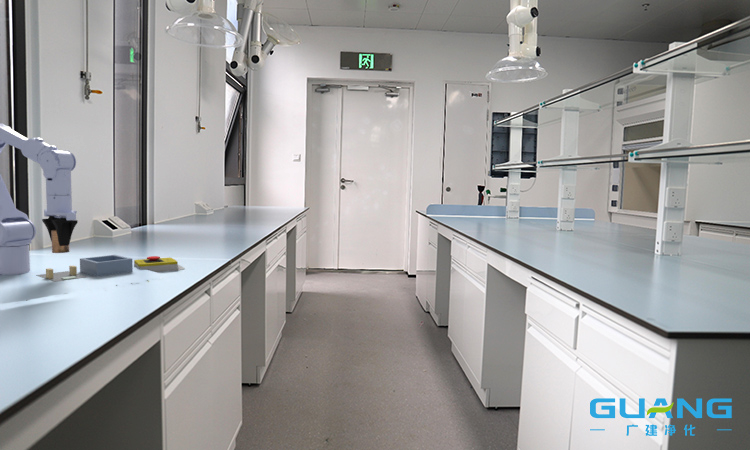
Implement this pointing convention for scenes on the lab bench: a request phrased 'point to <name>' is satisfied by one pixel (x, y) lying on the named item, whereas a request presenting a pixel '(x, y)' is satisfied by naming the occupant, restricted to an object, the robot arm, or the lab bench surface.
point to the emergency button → (158, 264)
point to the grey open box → (106, 265)
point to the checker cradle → (62, 274)
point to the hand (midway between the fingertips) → (60, 244)
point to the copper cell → (57, 244)
